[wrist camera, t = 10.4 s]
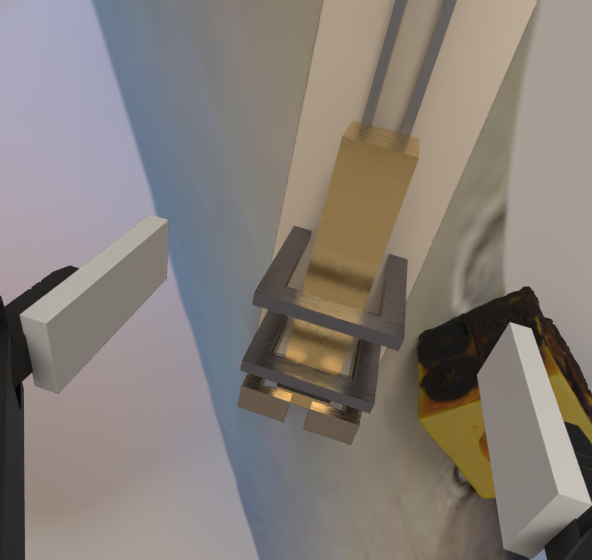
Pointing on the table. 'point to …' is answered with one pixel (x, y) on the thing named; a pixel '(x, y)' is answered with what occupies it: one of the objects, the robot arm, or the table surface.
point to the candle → (464, 383)
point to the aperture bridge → (319, 415)
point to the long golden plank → (351, 239)
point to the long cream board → (398, 111)
